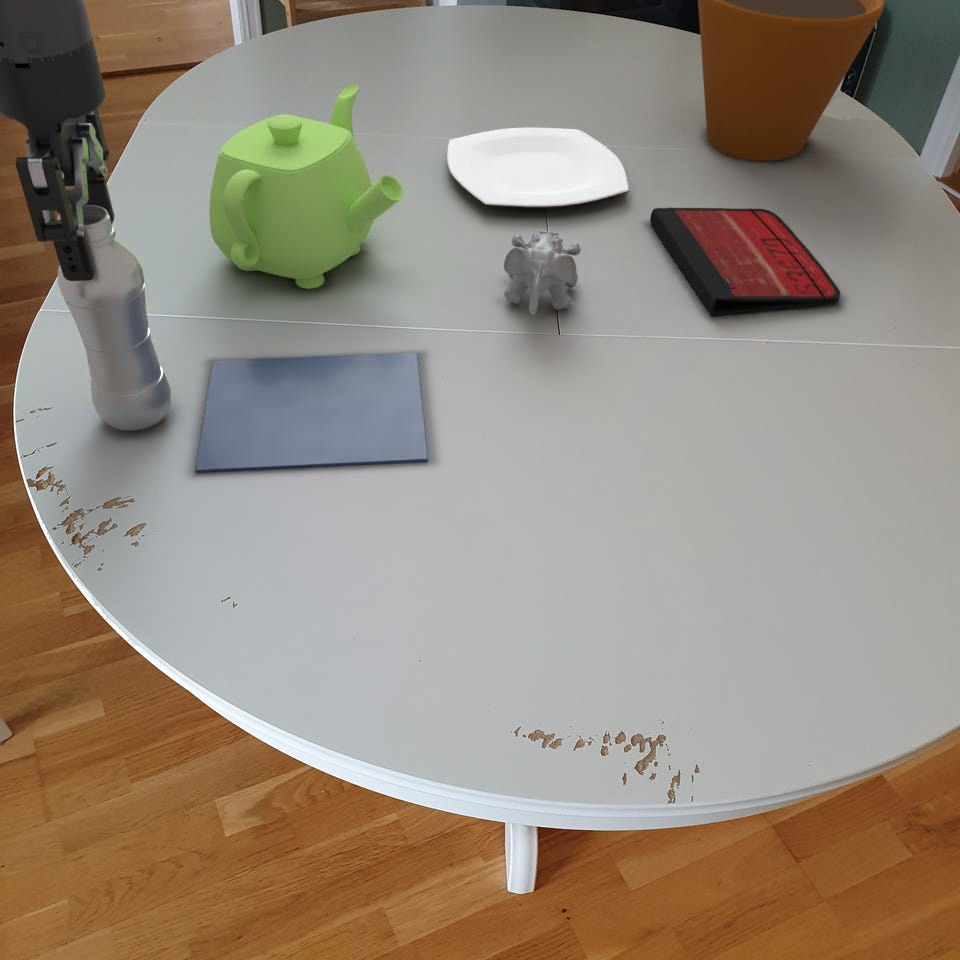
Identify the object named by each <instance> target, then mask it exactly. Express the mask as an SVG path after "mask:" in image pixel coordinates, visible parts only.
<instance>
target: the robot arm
mask: <svg viewBox="0 0 960 960" xmlns="http://www.w3.org/2000/svg"><path fill="white" fill-rule="evenodd" d="M105 98H106V88H105V85H104V80H103V77H102V73H101V68H100V64H99V60H98V55H97V51H96V45H95V42H94V38H93V33H92V30H91V25H90V21H89V17H88V12H87V10H86V5H85V0H0V115H1V116H3V117H4V118H6V119H9V120H13V121H16V122H17V123H19V124H21V125H22V126H24V127H25V128H26V130H27V132H26V134H27V138H26V139H25V153H26V156H17V157H16V159H15V170H16V171H17V174H18V178H19V182H20V185H21V189H22V192H23V195H24V198H25V199H24V200H25V202H26V206H27V209H28V212H29V215H30V219H31V222H32V226H33V229H34V234H35V237H36V239H37V241H38V242H39V243H46V242H47V243H48V242H52V243H53V246H54V250H55V253H56V256H57V260H58V263H59V265H60V266H61V270H62V273H63V276H64V278H65V279H67V280H68V281H90V280H92V279H93V278H94V275H95V267H94V264H93V260H92V256H91V253H90V249H89V245H88V242H87V238H86V235H85V232H84V230H85V228H84V225H83V212H82V207H83V205H95V206H100V207H103V208H105V209H106V210H107V212H108V214H109V216H110V220H111V224H112V225H113V223H114V221H115V213H114V209H113V204H112V200H111V197H110V193H109V189H108V188H109V187H108V184H107V181H106V179H107V177H108V172H109V171H108V167H107V166H106V162H105V161H109V160H110V155H111V154H110V150H109V148H108V144H107V141H106V137H105V132H104V128H103V125H102V121H101V116H100V113H99V110H98V109H99V107H101V106H102V104H103V103H104V100H105ZM66 187H73V189H71V190H67V189H66ZM55 212H57V213H58V215H60V217H61V220H58V219H56V213H55Z"/></svg>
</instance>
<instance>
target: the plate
mask: <svg viewBox="0 0 960 960" xmlns="http://www.w3.org/2000/svg"><path fill="white" fill-rule="evenodd" d="M446 153H447V154H446V158H447V159H446V160H447V166H448V169H449V172H450V174H451V175H452V177H453V178H454V179H455V181H456V182H457V183H458V184H459V185H460V186H461V187H462V188H463V189H464V190H465V191H466V192H468V193H469V194H470V195H471V196H473V197H474V198H475V199H477V201H479V202H480V203H482V204H483V205H484V206H488V207H489V206H490V207H504V208H505V207H506V208H526V209H527V208H529V209H531V208H532V209H537V208H538V209H539V208H542V209H547V208H550V209H551V208H565V207H571V206H579V205H583V204H589V203H592V202H597V201H601V200H605V199H610V198H613V197H616V196H619V195H623V194H627V193H629V190H630V189H629V182H628V178H627V172H626V171H625V167H624V166H623V163H622V162H621V160H620V159H619V157H618V156H617V155H616V154H615V153H614V152H613V151H612V150H610V149H609V148H608V147H607V146H605V145H604V144H603V143H601V142H600V141H598V140H597V139H595V138H594V137H592V136H590V135H589V134H587V133H585V132H584V131H583V130H581V129H577V128H576V129H575V128H556V127H509V128H500V129H499V128H498V129H494V130H487V131H482V132H477V133H472V134H468V135H464V136H460V137H459V136H458V137H456V138H451V139H449V140H448V145H447V152H446Z"/></svg>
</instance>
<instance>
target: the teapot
mask: <svg viewBox="0 0 960 960" xmlns="http://www.w3.org/2000/svg"><path fill="white" fill-rule="evenodd" d="M359 88H360V86H359V84H357V83H352V84H349V85H347V86H346V87H344V89H342V90H341V91H340V92H339V94H338V96H337V97H336V100H335V103H334V106H333V109H332V112H331V118H330V122H329V123H327V122H324V121H320V120H319V121H318V120H315V119H311V118H306V117H301V116H297V115H293V114H277V115H274V116H271V117H267V118H264V119H261V120H260V121H257V122H255V123H253V124H252V125H249V126H247V127H245V128H244V129H242V130H240V131H239V132H237V133H236V134H235V135H233V136H232V137H231V138H229V139H228V140H227V141H226V142H225V143H224V144H223V146H222V147H221V148H220V150H219V153H218V157H217V160H216V164H215V169H214V172H213V173H214V174H213V179H212V182H211V188H210V196H209V227H210V234H211V238H212V240H213V242H214V243H215V246H217V248H218V249H219V250H220V251H221V253H222V254H223V255H224V256H225V257H226V258H227V259H228V260H230V261H232V262H233V264H234V265H236V266H237V268H238V269H240V270H242V271H245V272H254V271H258V272H264V273H266V274H271V275H275V276H279V277H283V278H288V279H294V280H295V285H297V286H298V287H299V288H303V289H316V288H319V287H321V286H322V285H324V283H325V276H324V274H325V273H327V272H328V271H330V270H331V269H334V268H336V267H337V266H338V265H340V264H342V263H343V262H345V261H346V260H347V259H349V258H350V257H353V256H356V255H358V254H359V253H360V251H361V248H360V246H361V245H362V244H363V242H364V240H365V239H366V237H367V236H368V234H369V232H370V230H371V228H372V225H373V223H374V221H375V220H376V219H378V218H379V217H381V215H383V214H384V213H385V212H386V211H388V210H389V209H390V208H392V207H393V206H394V205H396V204H397V203H399V201H400V200H401V199H402V198H403V197H404V189H403V187H402V185H401V183H400V181H398V180H397V179H396V177H394V176H392V175H390V174H383V175H382V176H381V177H379V179H378V180H376V181H375V182H374V183H373V184H372V179H371V176H370V173H369V170H368V168H367V165H366V163H365V160H364V158H363V155H362V153H361V151H360V149H359V146H358V144H357V142H356V139H355V137H354V129H353V107H354V102H355V100H356V97H357V95H358V92H359Z"/></svg>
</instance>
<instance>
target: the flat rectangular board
mask: <svg viewBox="0 0 960 960" xmlns="http://www.w3.org/2000/svg"><path fill="white" fill-rule="evenodd" d="M418 361H419V359H418V352H403V353H401V352H400V353H373V354H348V355H347V354H346V355H322V356H321V355H320V356H296V357H295V356H289V357H267V358H266V357H264V358H263V357H262V358H237V359H235V358H234V359H214V360H212V363H211V371H210V377H209V382H208V388H207V389H208V390H207V395H206V400H205V401H206V402H205V407H204V414H203V420H202V426H201V432H200V437H199V444H198V449H197V457H196V463H195V468H194V469H195V470H194V472H195V473H211V472H212V473H213V472H235V471H256V470H273V469H293V468H294V469H296V468H315V467H318V468H319V467H335V466H337V467H338V466H356V465H357V466H358V465H378V464H380V465H381V464H398V463H417V462H418V463H419V462H420V463H421V462H428V461H429V457H428V446H427V436H426V429H425V418H424V408H423V399H422V390H421V380H420V371H419V362H418Z"/></svg>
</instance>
